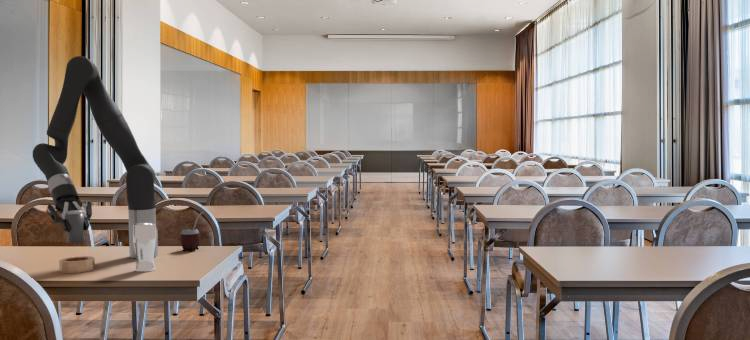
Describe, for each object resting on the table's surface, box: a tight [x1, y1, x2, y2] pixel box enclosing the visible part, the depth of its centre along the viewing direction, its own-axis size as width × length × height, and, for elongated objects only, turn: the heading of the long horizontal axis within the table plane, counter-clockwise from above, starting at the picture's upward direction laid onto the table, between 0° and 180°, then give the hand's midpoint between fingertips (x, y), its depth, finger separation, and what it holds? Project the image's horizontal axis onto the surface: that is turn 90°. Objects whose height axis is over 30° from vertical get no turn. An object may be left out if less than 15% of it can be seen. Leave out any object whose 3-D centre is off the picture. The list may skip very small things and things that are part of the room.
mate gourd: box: [180, 210, 205, 252], centre depth 234 cm, size 8×8×15 cm
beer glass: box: [133, 222, 157, 273], centre depth 198 cm, size 7×7×15 cm
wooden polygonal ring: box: [58, 255, 96, 274], centre depth 200 cm, size 10×10×4 cm
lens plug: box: [66, 209, 85, 244], centre depth 199 cm, size 5×5×10 cm
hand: (77, 229), depth 198 cm, fingers closed on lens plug, 5 cm apart
